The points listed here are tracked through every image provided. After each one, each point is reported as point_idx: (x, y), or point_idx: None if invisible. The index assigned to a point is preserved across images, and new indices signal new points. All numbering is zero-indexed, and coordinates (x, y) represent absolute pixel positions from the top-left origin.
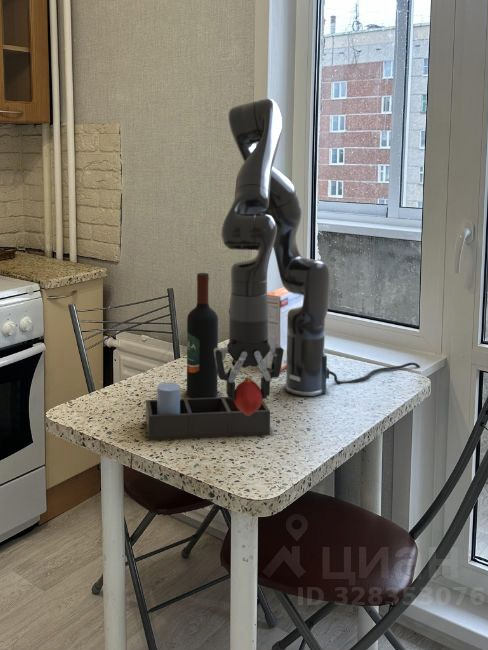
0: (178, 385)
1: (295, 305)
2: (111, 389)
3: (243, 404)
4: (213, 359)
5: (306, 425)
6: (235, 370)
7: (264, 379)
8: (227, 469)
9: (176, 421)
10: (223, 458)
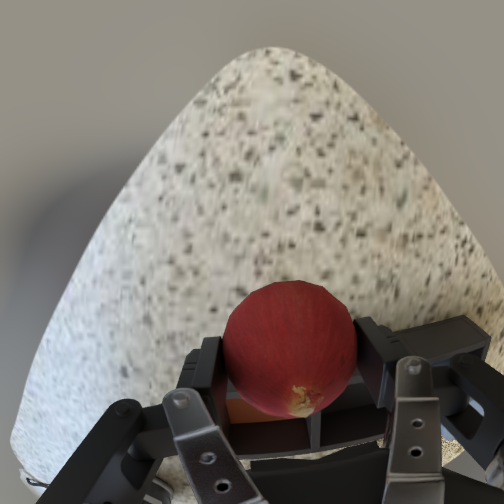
0: (446, 432)
1: None
2: (447, 461)
3: (319, 288)
4: None
5: (128, 386)
6: (424, 399)
7: (203, 400)
8: (334, 174)
9: (438, 345)
10: (338, 233)
